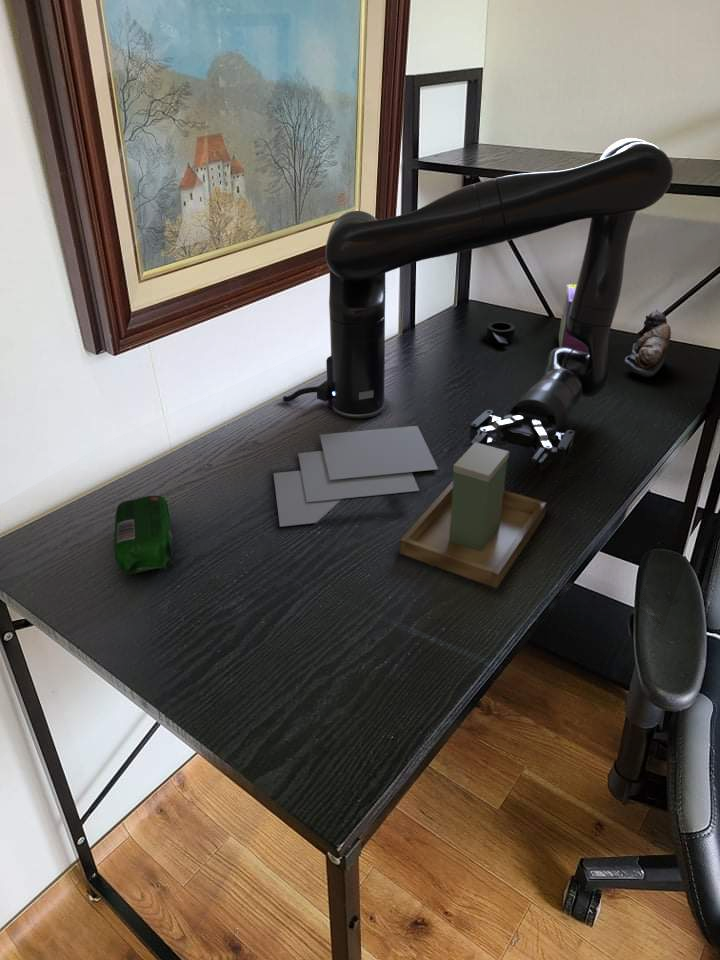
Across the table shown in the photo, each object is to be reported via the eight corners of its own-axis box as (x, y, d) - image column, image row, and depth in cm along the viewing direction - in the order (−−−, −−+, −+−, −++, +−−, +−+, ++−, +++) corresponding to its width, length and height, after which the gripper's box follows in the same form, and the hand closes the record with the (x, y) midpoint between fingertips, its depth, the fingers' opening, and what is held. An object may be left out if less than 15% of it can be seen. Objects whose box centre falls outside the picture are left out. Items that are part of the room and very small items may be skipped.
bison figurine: (658, 384, 137) (670, 333, 131) (619, 377, 140) (630, 327, 134) (665, 360, 146) (677, 311, 140) (629, 354, 149) (639, 306, 143)
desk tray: (399, 554, 96) (399, 539, 94) (456, 489, 108) (457, 475, 107) (496, 590, 90) (498, 574, 88) (544, 517, 102) (546, 502, 101)
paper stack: (454, 508, 104) (455, 504, 104) (279, 526, 101) (279, 522, 100) (417, 429, 123) (417, 425, 123) (269, 442, 120) (269, 439, 120)
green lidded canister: (447, 541, 97) (453, 465, 91) (468, 515, 102) (474, 441, 96) (481, 552, 95) (489, 475, 89) (500, 526, 100) (509, 451, 93)
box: (588, 359, 147) (598, 302, 140) (559, 357, 148) (568, 300, 141) (585, 339, 155) (595, 285, 149) (558, 337, 156) (566, 283, 150)
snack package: (119, 594, 90) (111, 562, 87) (120, 521, 102) (113, 490, 99) (178, 584, 91) (172, 552, 88) (171, 513, 104) (166, 483, 101)
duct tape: (526, 335, 157) (528, 323, 156) (505, 351, 151) (507, 337, 149) (494, 328, 161) (495, 315, 160) (472, 342, 154) (473, 329, 153)
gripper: (501, 378, 113) (457, 422, 101) (592, 399, 107) (557, 448, 95) (496, 421, 117) (454, 468, 105) (584, 443, 111) (549, 495, 99)
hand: (503, 458), depth 100 cm, fingers open, 8 cm apart
